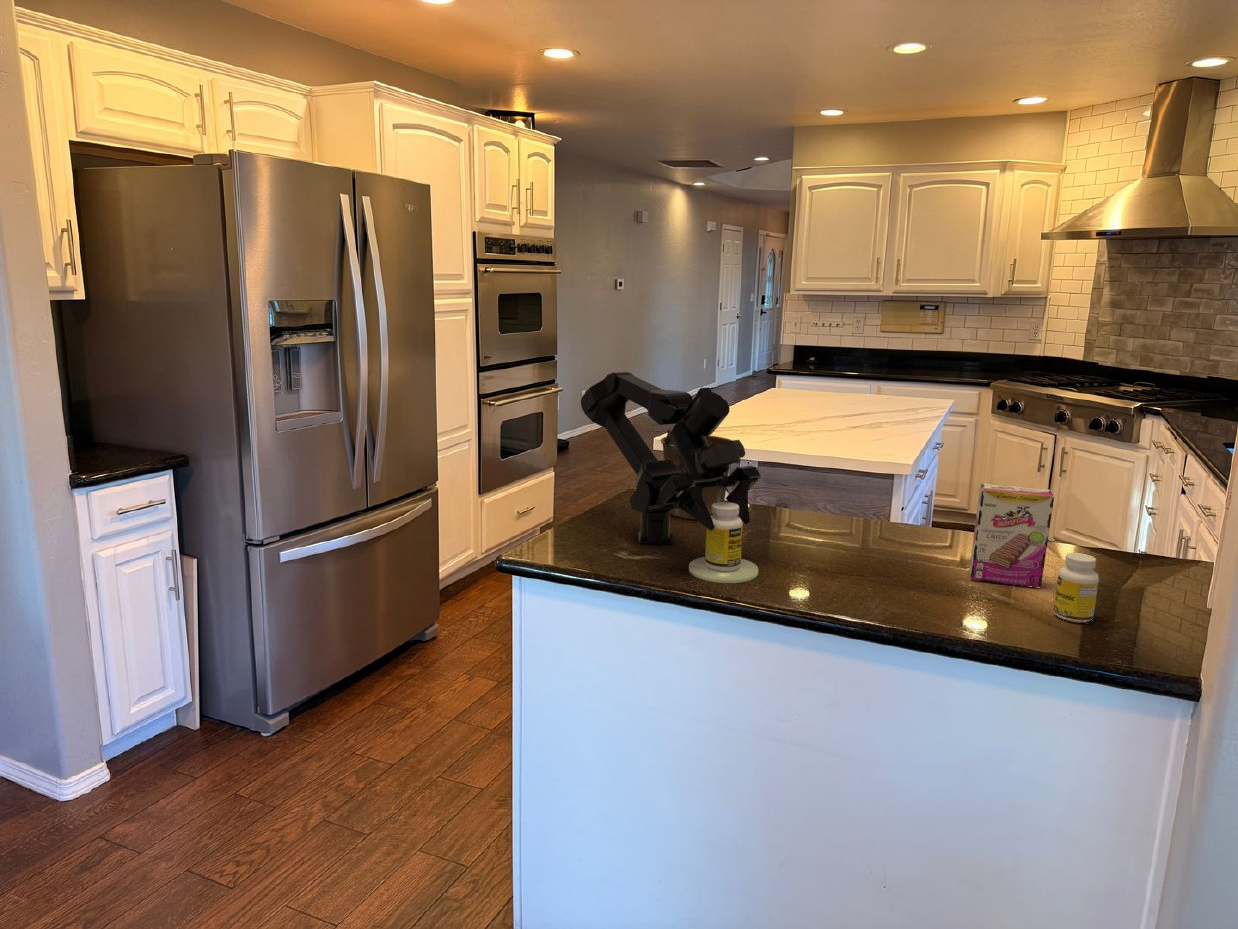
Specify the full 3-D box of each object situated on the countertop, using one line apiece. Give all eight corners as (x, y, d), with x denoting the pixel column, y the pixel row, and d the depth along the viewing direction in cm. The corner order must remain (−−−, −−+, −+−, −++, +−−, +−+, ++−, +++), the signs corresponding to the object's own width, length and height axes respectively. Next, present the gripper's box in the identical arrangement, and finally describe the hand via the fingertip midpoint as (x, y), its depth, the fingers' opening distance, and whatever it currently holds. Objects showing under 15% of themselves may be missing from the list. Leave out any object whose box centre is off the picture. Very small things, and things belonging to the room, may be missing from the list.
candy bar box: (970, 581, 142) (980, 488, 139) (968, 572, 147) (978, 482, 143) (1042, 590, 139) (1055, 494, 135) (1038, 580, 143) (1050, 488, 140)
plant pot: (745, 511, 185) (749, 439, 181) (712, 528, 171) (716, 451, 168) (680, 499, 193) (683, 431, 190) (645, 515, 180) (646, 441, 176)
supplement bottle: (1045, 611, 130) (1053, 551, 128) (1078, 610, 130) (1086, 550, 128) (1066, 625, 124) (1075, 562, 122) (1100, 624, 125) (1110, 562, 123)
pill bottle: (731, 575, 141) (734, 512, 138) (698, 568, 144) (701, 506, 142) (746, 564, 146) (749, 503, 144) (714, 558, 149) (716, 498, 147)
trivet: (685, 559, 151) (686, 555, 151) (751, 560, 151) (752, 556, 151) (692, 582, 139) (692, 578, 139) (763, 583, 139) (763, 579, 139)
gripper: (671, 428, 138) (708, 508, 131) (757, 421, 148) (796, 495, 141) (643, 465, 147) (678, 542, 140) (727, 456, 156) (762, 528, 149)
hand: (730, 526), depth 142 cm, fingers open, 7 cm apart
